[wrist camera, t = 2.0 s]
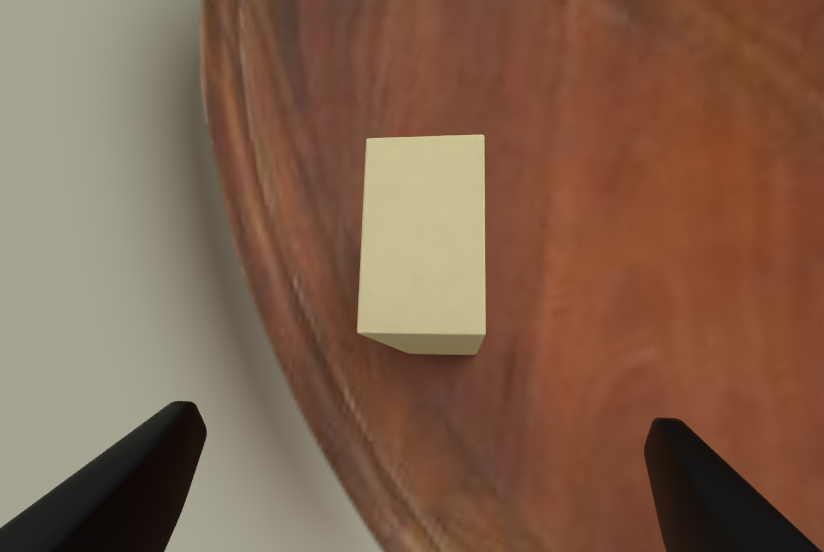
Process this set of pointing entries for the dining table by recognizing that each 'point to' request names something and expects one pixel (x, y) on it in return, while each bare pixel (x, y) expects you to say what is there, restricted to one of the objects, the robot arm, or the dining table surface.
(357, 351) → the dining table surface
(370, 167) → the beige rectangular block
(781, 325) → the dining table surface
